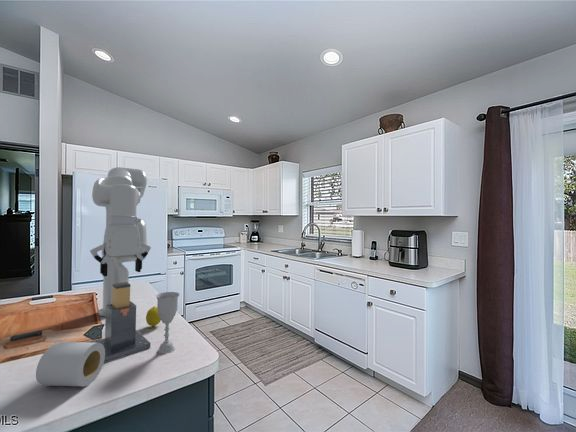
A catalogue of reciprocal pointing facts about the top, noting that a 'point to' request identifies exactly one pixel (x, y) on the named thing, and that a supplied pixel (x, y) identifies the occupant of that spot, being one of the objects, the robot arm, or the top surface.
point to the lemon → (153, 317)
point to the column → (121, 295)
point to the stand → (121, 333)
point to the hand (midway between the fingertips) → (121, 273)
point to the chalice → (167, 316)
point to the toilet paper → (70, 364)
